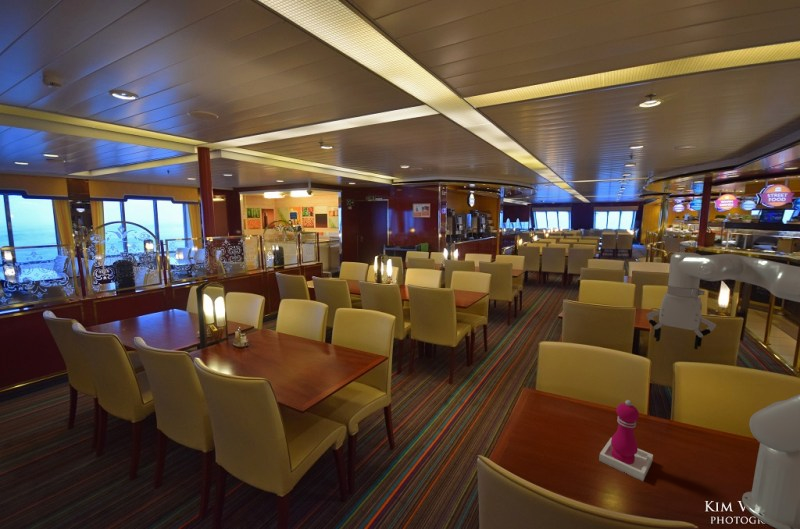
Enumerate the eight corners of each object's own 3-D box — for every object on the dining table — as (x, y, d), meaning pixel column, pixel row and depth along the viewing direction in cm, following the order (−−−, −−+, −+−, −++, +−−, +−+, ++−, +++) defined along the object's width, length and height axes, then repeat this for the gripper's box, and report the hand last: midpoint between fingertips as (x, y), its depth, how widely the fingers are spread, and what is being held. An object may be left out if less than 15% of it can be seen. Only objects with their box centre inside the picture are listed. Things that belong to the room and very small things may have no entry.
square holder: (652, 461, 111) (653, 454, 111) (643, 481, 103) (644, 473, 103) (610, 443, 120) (611, 437, 120) (599, 460, 112) (599, 453, 111)
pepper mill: (604, 453, 114) (610, 397, 111) (618, 447, 117) (624, 392, 114) (626, 468, 107) (633, 409, 104) (641, 461, 110) (647, 403, 107)
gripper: (720, 294, 105) (713, 348, 107) (651, 286, 117) (646, 334, 119) (719, 298, 100) (711, 355, 102) (646, 289, 112) (641, 340, 114)
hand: (676, 344), depth 111 cm, fingers open, 9 cm apart
